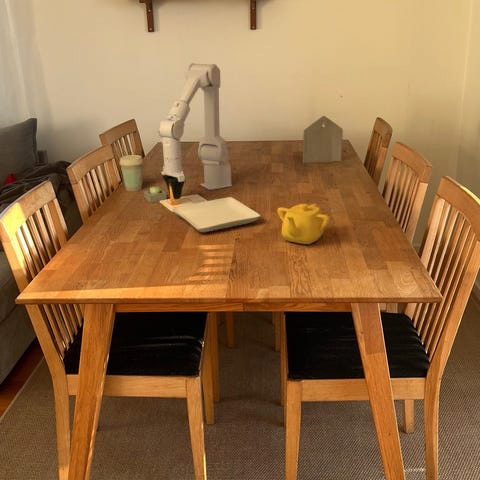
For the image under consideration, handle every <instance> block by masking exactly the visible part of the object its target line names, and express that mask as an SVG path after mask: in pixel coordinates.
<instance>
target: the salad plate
mask: <svg viewBox="0 0 480 480" xmlns="http://www.w3.org/2000/svg"><path fill="white" fill-rule="evenodd" d="M173 211H174V212H173V213H174V214H176V215H177V216H179V218H182V220H184V221H186V222H187V223H188V224H189V225H191V226H192V227H193V228H194V229H195V230H196V231H198V232H200V233H209V231H210V232H213V231H214V230H215V231H219V229H220V230H224V228H225V229H228V228H229V227H230V228H233V226H234V227H238V225H239V226H242V224H243V225H247V224H250V223H253V222H255V221H257V220H259V218H260V217H261V215H260V214H259V212H256V211H255V210H254V209H251V208H250V207H248V206H247V205H245V204H244V203H242V202H241V201H239V200H237V199H235V198H234V197H232V196H230V197H229V196H228V197H224V198H218V199H212V200H211V199H210V200H207V201H206V202H201V203H196V204H191V205H186V206H181V207H176V208H173Z"/></svg>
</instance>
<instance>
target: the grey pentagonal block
mask: <svg viewBox="0 0 480 480" xmlns="http://www.w3.org/2000/svg"><path fill="white" fill-rule="evenodd" d="M343 133H344V130H343V128H342V127H341V126H339V125H338V124H337V123H335V122H334V121H333V120H331V119H330V118H328V117H327V116H326V115H322V116H321V117H319V118H318V119H317V120H315V121H314V122H313V123H312V124H309V126H307V127H306V128H305V129H303V137H302V138H303V141H302V142H303V143H302V146H303V147H302V148H303V149H302V163H303V164H311V163H312V164H313V163H315V162H319V163H334V162H333V161H341V162H342V156H343V154H342V153H343Z"/></svg>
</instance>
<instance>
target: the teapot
mask: <svg viewBox="0 0 480 480" xmlns="http://www.w3.org/2000/svg"><path fill="white" fill-rule="evenodd" d="M284 212H285V214H284ZM277 215H278V217H279V218H280V220H281V221H282V225H281V236H282V238H283V240H285V241H287V242H293V243H296V244H302V245H305V244H309V245H310V244H312V243H314V242H316V241H318V240H319V239H320V238H321V237H322V235H323V233H324V231H325V228H326V227H327V226H328V225H329V223H330V220H331V217H330V216H329V215H327V214H322V210H321V209H320V207H319V206H318V204H316V203H312V204H310V205H308V204H307V203H299V204H297V205H294V206H292V207H291V208H288V207H278V208H277Z"/></svg>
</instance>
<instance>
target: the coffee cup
mask: <svg viewBox="0 0 480 480" xmlns="http://www.w3.org/2000/svg"><path fill="white" fill-rule="evenodd" d="M143 164H144V160H143V157H142V156H141V155H138V154H128V155H123V156H121V157H120V159H119V165H120V169H121V174H122V178H123V183H124V187H125V191H126V192H132V193H133V192H140V191H142V189H143Z"/></svg>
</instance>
